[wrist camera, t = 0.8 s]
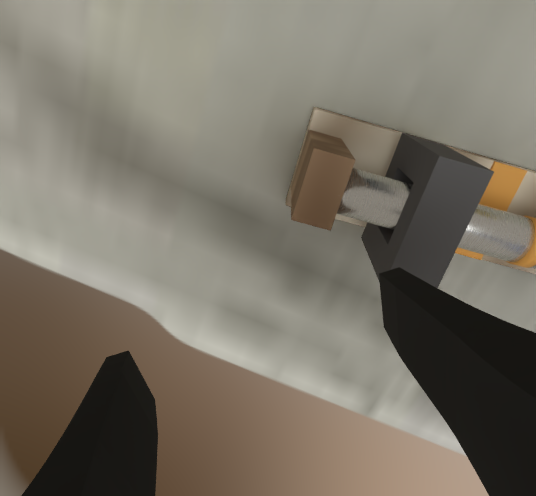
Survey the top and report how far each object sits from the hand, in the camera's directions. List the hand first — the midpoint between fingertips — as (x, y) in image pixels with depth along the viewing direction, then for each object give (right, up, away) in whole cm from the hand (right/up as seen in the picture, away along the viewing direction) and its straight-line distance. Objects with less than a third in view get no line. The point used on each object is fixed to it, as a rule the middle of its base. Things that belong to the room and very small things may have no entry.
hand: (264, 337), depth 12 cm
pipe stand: (+11, +6, +16) cm, 20 cm away
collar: (+8, +6, +13) cm, 16 cm away
